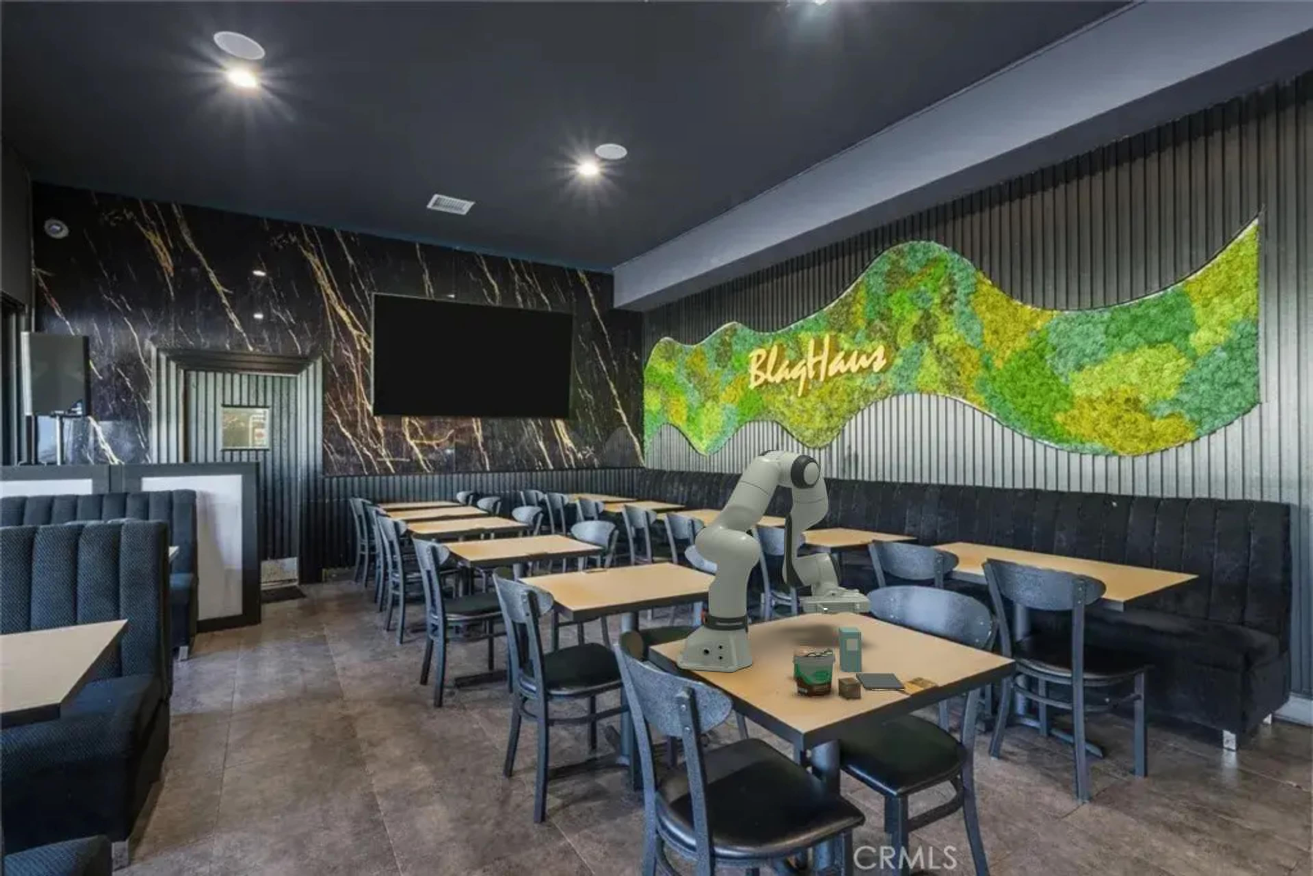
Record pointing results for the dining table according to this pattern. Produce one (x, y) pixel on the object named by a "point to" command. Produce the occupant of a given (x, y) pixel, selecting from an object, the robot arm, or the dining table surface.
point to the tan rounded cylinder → (802, 653)
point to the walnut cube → (849, 688)
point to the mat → (879, 681)
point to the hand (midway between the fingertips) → (841, 611)
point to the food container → (814, 673)
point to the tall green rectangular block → (850, 649)
